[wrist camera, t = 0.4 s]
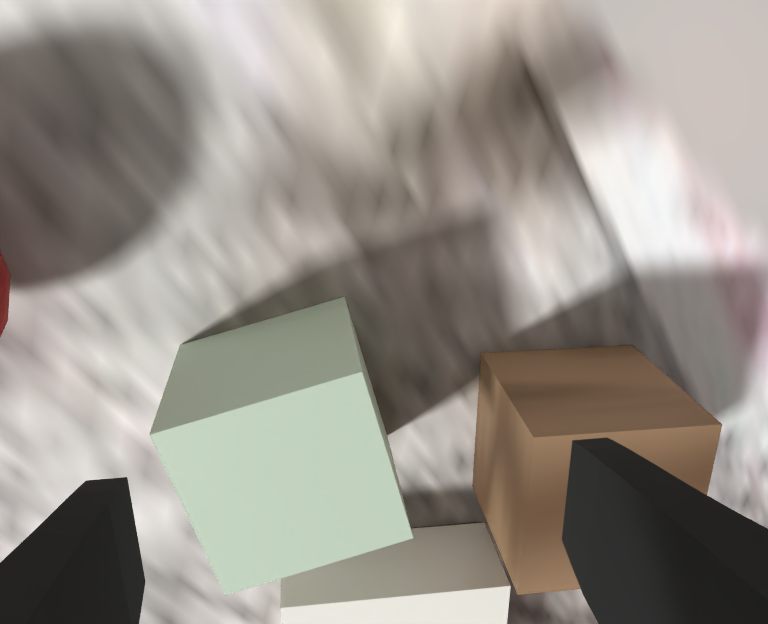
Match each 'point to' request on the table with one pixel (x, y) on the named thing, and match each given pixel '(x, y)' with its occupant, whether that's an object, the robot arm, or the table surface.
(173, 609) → the table surface
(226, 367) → the sage cube
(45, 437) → the table surface
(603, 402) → the walnut cube
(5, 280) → the onion
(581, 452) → the robot arm
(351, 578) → the cream slab
